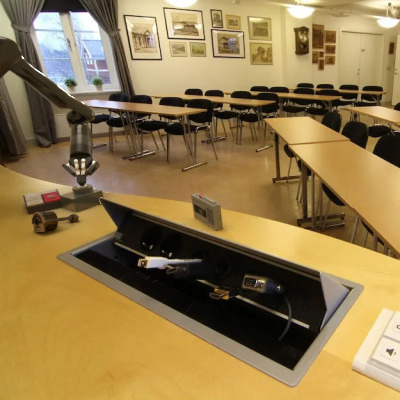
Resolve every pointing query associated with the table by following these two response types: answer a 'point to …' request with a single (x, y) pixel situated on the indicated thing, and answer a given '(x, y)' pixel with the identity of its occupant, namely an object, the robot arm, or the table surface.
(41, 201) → the dark box with panels
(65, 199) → the olive block with knob
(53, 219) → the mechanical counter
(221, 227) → the cassette player
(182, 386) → the table surface
